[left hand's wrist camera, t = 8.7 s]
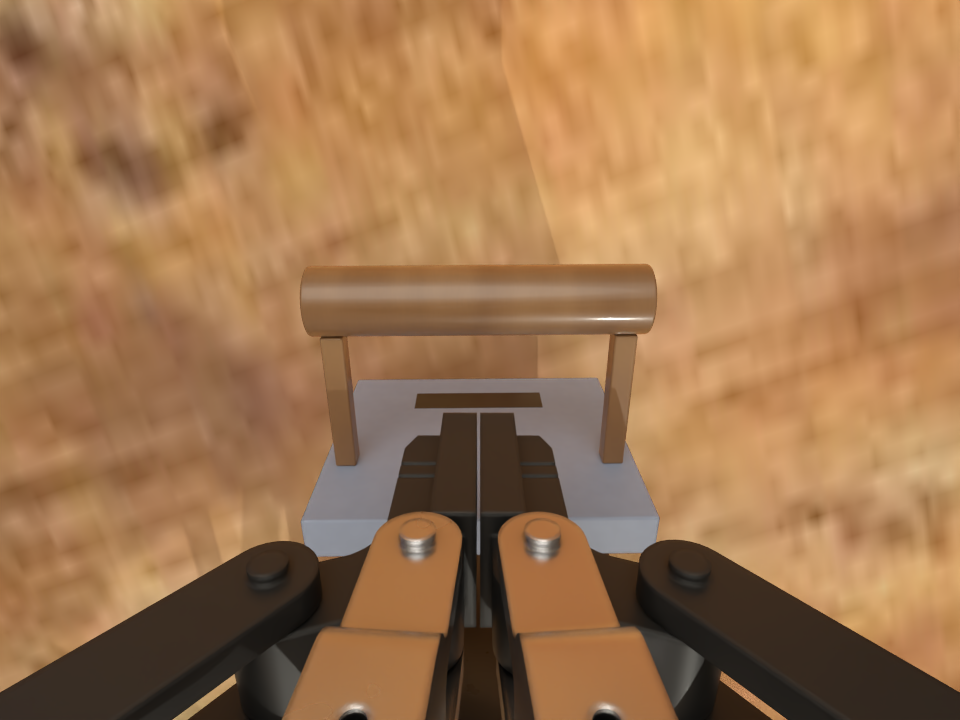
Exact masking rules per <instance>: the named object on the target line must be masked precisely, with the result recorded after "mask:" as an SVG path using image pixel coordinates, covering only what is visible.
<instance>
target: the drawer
mask: <svg viewBox="0 0 960 720" xmlns="http://www.w3.org/2000/svg"><path fill="white" fill-rule="evenodd" d="M656 307H657V286H656V279H655V275H654V272H653V269H652V268H651V266H650V265H648V264H571V265H426V266H309V267H307V268H306V269H305V271H304V273H303V276H302V280H301V287H300V309H301V316H302V321H303V324H304V327H305V330H306V332H307V333H308V335H310V336H312V337H321V338H320V344H321V352H322V360H323V368H324V375H325V383H326V391H327V399H328V406H329V414H330V422H331V430H332V437H333V444H332V446H331V449H330V451H329V454H328V456H327V459H326V461H325V463H324V466H323V468H322V471H321V473H320V476H319V478H318V481H317V483H316V486H315V488H314V490H313V493H312V495H311V498H310V500H309V503H308V505H307V508H306V510H305V513H304V515H303V517H302V520H301V526H302V532H303V538H304V544H305V545H306V546H307V547H309V548H310V549H312V550H313V551H314V552H315V554H316V555H317V557H321V556H347V555H350V554H353V553H355V552H358V551H360V550H362V549H364V548H366V547H367V546H369V545H370V544H371V543H372V541H373V538H374V536H375V534H376V532H377V530H378V529H379V528H380V527H381V526H382V525H383V524H384V523H386V522H387V520H388V516H389V512H390V507H391V503H392V499H393V495H394V491H395V487H396V483H397V478H398V474H399V470H400V466H401V462H402V458H403V454H404V449H405V447H406V446H407V445H408V444H409V443H410V442H412V441H413V440H414V439H415V438H416V437H417V436H418V435H440V432H441V424H442V417H443V413H444V412H477V586H476V627H464V674H463V683H462V691H461V700H460V708H459V717H458V720H502V717H501V708H500V700H499V691H498V683H497V674H496V657H495V654H494V652H493V646H492V628H480V413H514V417H515V425H516V433H517V435H539V436H540V437H541V438H542V439H543V440H544V441H545V442H546V443H547V444H548V445H549V446H550V447H551V448H552V450H553V454H554V459H555V466H556V467H557V472H558V478H559V480H560V485H561V489H562V493H563V498H564V502H565V506H566V511H567V515H568V519H570V520H571V521H573V522H574V523H576V524H577V525H578V526H579V527H580V528H581V529H582V530H583V532H584V534H585V536H586V538H587V541H588V543H589V546H590V548H592V549H594V550H596V551H598V552H600V553H603V554H605V555H608V556H609V553H642V552H643V551H644V550H645V549H646V548H647V547H648V546H650V545H652V544H654V543H656V537H657V531H658V525H659V515H658V513H657V511H656V509H655V506H654V504H653V502H652V500H651V497H650V495H649V493H648V491H647V488H646V486H645V484H644V482H643V479H642V477H641V475H640V473H639V470H638V468H637V466H636V464H635V461H634V459H633V457H632V455H631V452H630V450H629V448H628V446H627V443H626V441H625V439H626V431H627V422H628V414H629V405H630V397H631V388H632V380H633V371H634V363H635V354H636V346H637V335H636V334H646V333H648V332H649V331H650V330H651V328H652V326H653V323H654V319H655V315H656ZM588 334H610V342H609V352H608V363H607V373H606V384H605V394H604V392H603V389H602V387H601V385H600V383H599V380H598V378H525V379H407V380H358V383H357V385H356V387H355V390H354V392H353V388H352V379H351V369H350V360H349V351H348V341H347V336H460V335H588Z"/></svg>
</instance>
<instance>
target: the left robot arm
mask: <svg viewBox="0 0 960 720" xmlns="http://www.w3.org/2000/svg"><path fill="white" fill-rule="evenodd" d="M476 586H477V412H444V413H443V417H442V424H441V432H440V435H418V436H417V437H416V438H415V439H414V440H413V441H412V442H410V443H409V444H408V445H407V446H406V447H405V449H404V454H403V458H402V462H401V466H400V470H399V474H398V478H397V483H396V487H395V491H394V495H393V499H392V503H391V507H390V512H389V516H388V520H387V522H386V523H384V524H383V525H382V526H381V527H380V528H379V529H378V530H377V532H376V534H375V536H374V538H373V541H372V543H371V544H370V545H369V546H367V547H366V548H364V549H362V550H360V551H358V552H355V553H353V554H350V555H347V556H343V557H339V558H335V559H330V560H326V561H322V562H318V558H317V555H316V554H315V552H314V551H313V550H312V549H310V548H309V547H307V546H306V545H304V544H301V543H297V542H291V541H277V542H270V543H265V544H262V545H258V546H256V547H253V548H251V549H249V550H247V551H245V552H243V553H241V554H239V555H238V556H236V557H234V558H232V559H231V560H229V561H227V562H225V563H224V564H222V565H220V566H218V567H217V568H215V569H213V570H212V571H210V572H208V573H206V574H205V575H203V576H201V577H199V578H198V579H196V580H194V581H193V582H191V583H189V584H187V585H186V586H184V587H182V588H180V589H179V590H177V591H175V592H173V593H172V594H170V595H168V596H167V597H165V598H163V599H161V600H160V601H158V602H156V603H154V604H153V605H151V606H149V607H147V608H146V609H144V610H142V611H141V612H139V613H137V614H135V615H134V616H132V617H130V618H128V619H127V620H125V621H123V622H122V623H120V624H118V625H116V626H115V627H113V628H111V629H109V630H108V631H106V632H104V633H102V634H101V635H99V636H97V637H96V638H94V639H92V640H90V641H89V642H87V643H85V644H83V645H82V646H80V647H78V648H76V649H75V650H73V651H71V652H70V653H68V654H66V655H64V656H63V657H61V658H59V659H57V660H56V661H54V662H52V663H51V664H49V665H47V666H45V667H44V668H42V669H40V670H38V671H37V672H35V673H33V674H31V675H30V676H28V677H26V678H25V679H23V680H21V681H19V682H18V683H16V684H14V685H12V686H11V687H9V688H7V689H5V690H4V691H2V692H0V720H172V719H174V718H175V717H176V716H178V715H179V714H181V713H182V712H183V711H185V710H186V709H187V708H189V707H190V706H191V705H193V704H194V703H195V702H197V701H198V700H200V699H201V698H202V697H204V696H205V695H206V694H208V693H209V692H210V691H212V690H213V689H214V688H216V687H217V686H218V685H220V684H221V683H223V682H224V681H225V680H227V679H228V678H229V677H231V676H232V675H233V674H235V678H236V684H235V685H233V686H232V687H231V688H229V689H228V690H227V691H225V692H224V693H223V694H221V695H220V696H219V697H217V698H216V699H215V700H213V701H212V702H211V703H209V704H208V705H207V706H205V707H204V708H203V709H201V710H200V711H199V712H197V713H196V714H195V715H193V716H192V717H191V718H189V719H188V720H458V717H459V708H460V700H461V691H462V683H463V674H464V627H476ZM480 628H492V646H493V652H494V654H495V657H496V674H497V683H498V691H499V700H500V708H501V717H502V720H772V719H771V718H769V717H768V716H767V715H765V714H764V713H763V712H761V711H760V710H759V709H757V708H756V707H755V706H753V705H752V704H751V703H749V702H748V701H747V700H745V699H744V698H743V697H741V696H740V695H739V694H737V693H736V692H735V691H733V690H732V689H731V688H729V687H728V686H727V685H725V684H724V683H723V682H721V681H720V676H721V671H722V672H724V673H725V674H727V675H728V676H729V677H731V678H732V679H733V680H735V681H736V682H737V683H739V684H740V685H741V686H743V687H744V688H746V689H747V690H748V691H750V692H751V693H752V694H754V695H755V696H756V697H758V698H759V699H760V700H762V701H763V702H765V703H766V704H767V705H769V706H770V707H771V708H773V709H774V710H775V711H777V712H778V713H779V714H781V715H782V716H784V717H785V718H786V719H787V720H960V692H958V691H956V690H954V689H953V688H951V687H949V686H948V685H946V684H944V683H942V682H941V681H939V680H937V679H935V678H934V677H932V676H930V675H929V674H927V673H925V672H923V671H922V670H920V669H918V668H916V667H915V666H913V665H911V664H909V663H908V662H906V661H904V660H903V659H901V658H899V657H897V656H896V655H894V654H892V653H890V652H889V651H887V650H885V649H883V648H882V647H880V646H878V645H877V644H875V643H873V642H871V641H870V640H868V639H866V638H864V637H863V636H861V635H859V634H858V633H856V632H854V631H852V630H851V629H849V628H847V627H845V626H844V625H842V624H840V623H838V622H837V621H835V620H833V619H832V618H830V617H828V616H826V615H825V614H823V613H821V612H819V611H818V610H816V609H814V608H812V607H811V606H809V605H807V604H806V603H804V602H802V601H800V600H799V599H797V598H795V597H793V596H792V595H790V594H788V593H787V592H785V591H783V590H781V589H780V588H778V587H776V586H774V585H773V584H771V583H769V582H767V581H766V580H764V579H762V578H761V577H759V576H757V575H755V574H754V573H752V572H750V571H748V570H747V569H745V568H743V567H742V566H740V565H738V564H736V563H735V562H733V561H731V560H729V559H728V558H726V557H724V556H722V555H721V554H719V553H717V552H716V551H714V550H712V549H710V548H708V547H705V546H703V545H700V544H697V543H693V542H689V541H684V540H665V541H660V542H656V543H654V544H652V545H650V546H648V547H647V548H646V549H645V550H644V551H643V552H642V554H641V556H640V559H639V563H638V562H633V561H629V560H624V559H620V558H616V557H612V556H608V555H605V554H603V553H600V552H598V551H596V550H594V549H592V548H590V546H589V543H588V541H587V538H586V536H585V534H584V532H583V530H582V529H581V528H580V527H579V526H578V525H577V524H576V523H574V522H573V521H571V520H570V519H568V515H567V511H566V506H565V502H564V498H563V493H562V489H561V485H560V480H559V478H558V472H557V467H556V466H555V459H554V454H553V450H552V448H551V447H550V446H549V445H548V444H547V443H546V442H545V441H544V440H543V439H542V438H541V437H540V436H539V435H517V433H516V425H515V417H514V413H480Z"/></svg>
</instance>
